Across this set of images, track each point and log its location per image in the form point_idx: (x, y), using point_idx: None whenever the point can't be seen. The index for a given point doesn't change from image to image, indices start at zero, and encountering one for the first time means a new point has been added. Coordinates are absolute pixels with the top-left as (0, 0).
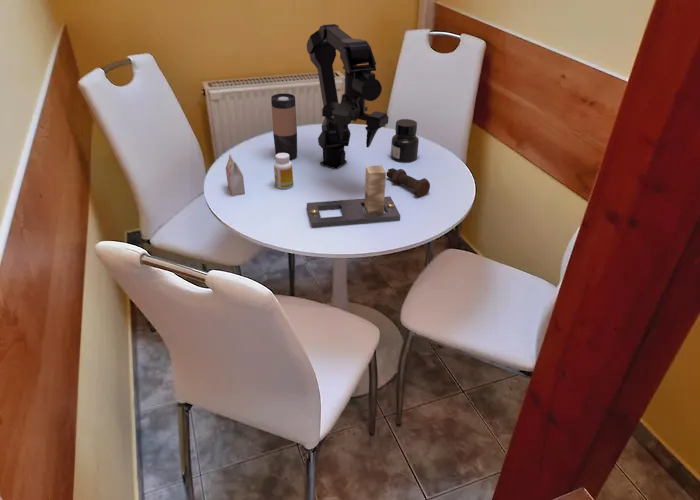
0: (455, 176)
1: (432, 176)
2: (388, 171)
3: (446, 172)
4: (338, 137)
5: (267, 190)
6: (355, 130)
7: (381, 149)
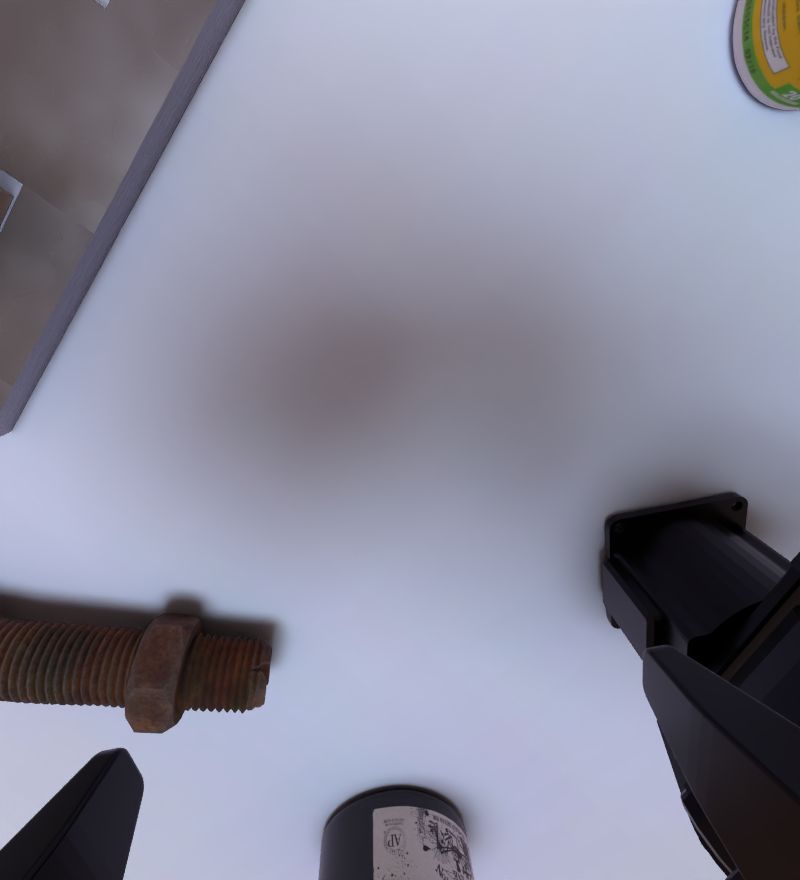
0: None
1: None
2: (250, 670)
3: None
4: (714, 680)
5: None
6: None
7: (542, 819)
